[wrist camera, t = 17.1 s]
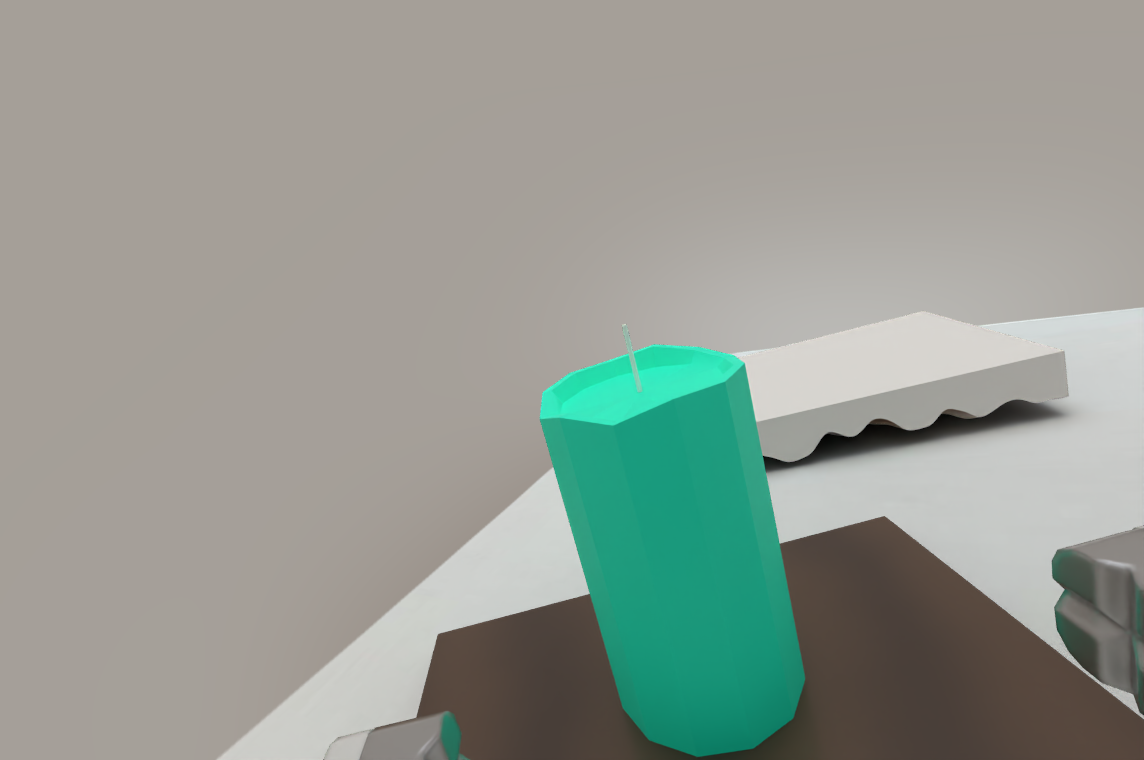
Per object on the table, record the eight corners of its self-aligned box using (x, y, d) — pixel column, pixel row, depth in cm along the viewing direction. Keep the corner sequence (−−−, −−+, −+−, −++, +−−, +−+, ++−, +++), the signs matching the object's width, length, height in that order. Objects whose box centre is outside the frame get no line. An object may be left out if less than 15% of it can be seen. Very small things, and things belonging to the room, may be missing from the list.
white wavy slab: (699, 490, 34) (1070, 410, 31) (685, 438, 33) (1064, 350, 30) (678, 412, 48) (929, 352, 45) (669, 374, 48) (923, 311, 45)
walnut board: (363, 1005, 14) (349, 975, 13) (444, 652, 25) (437, 633, 25) (1190, 788, 13) (1191, 755, 13) (887, 535, 25) (884, 515, 25)
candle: (639, 613, 23) (561, 321, 20) (800, 613, 21) (739, 284, 18) (598, 748, 17) (484, 373, 15) (811, 767, 15) (725, 329, 12)
